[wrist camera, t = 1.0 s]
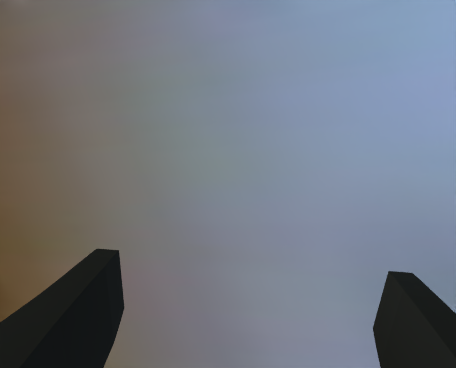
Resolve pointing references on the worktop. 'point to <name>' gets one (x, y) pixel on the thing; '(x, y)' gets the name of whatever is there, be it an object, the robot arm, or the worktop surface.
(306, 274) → the worktop surface
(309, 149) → the worktop surface
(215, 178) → the worktop surface
